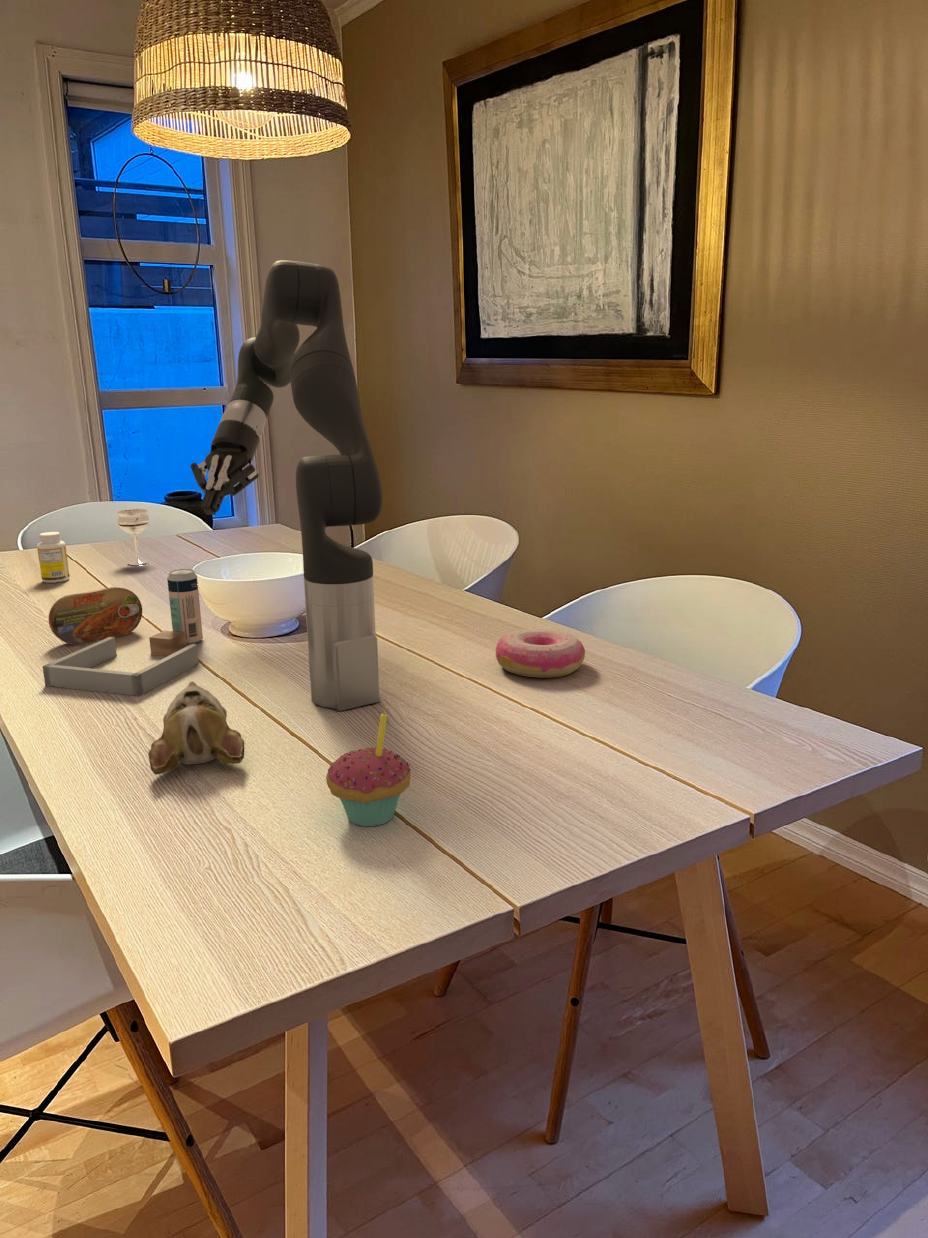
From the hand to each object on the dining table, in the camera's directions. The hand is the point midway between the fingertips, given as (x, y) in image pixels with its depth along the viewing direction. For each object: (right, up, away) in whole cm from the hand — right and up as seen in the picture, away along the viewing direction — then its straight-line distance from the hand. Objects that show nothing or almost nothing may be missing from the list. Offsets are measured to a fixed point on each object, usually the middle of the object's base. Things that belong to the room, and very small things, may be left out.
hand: (208, 511), depth 161 cm
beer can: (-2, -22, -3) cm, 23 cm away
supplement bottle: (-44, -10, +41) cm, 61 cm away
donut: (+55, -26, -19) cm, 63 cm away
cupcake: (+34, -39, -63) cm, 82 cm away
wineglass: (-31, -6, +57) cm, 65 cm away
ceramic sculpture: (+12, -35, -49) cm, 61 cm away
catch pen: (-7, -26, -19) cm, 33 cm away
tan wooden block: (-4, -24, -8) cm, 25 cm away
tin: (-18, -22, -1) cm, 28 cm away
